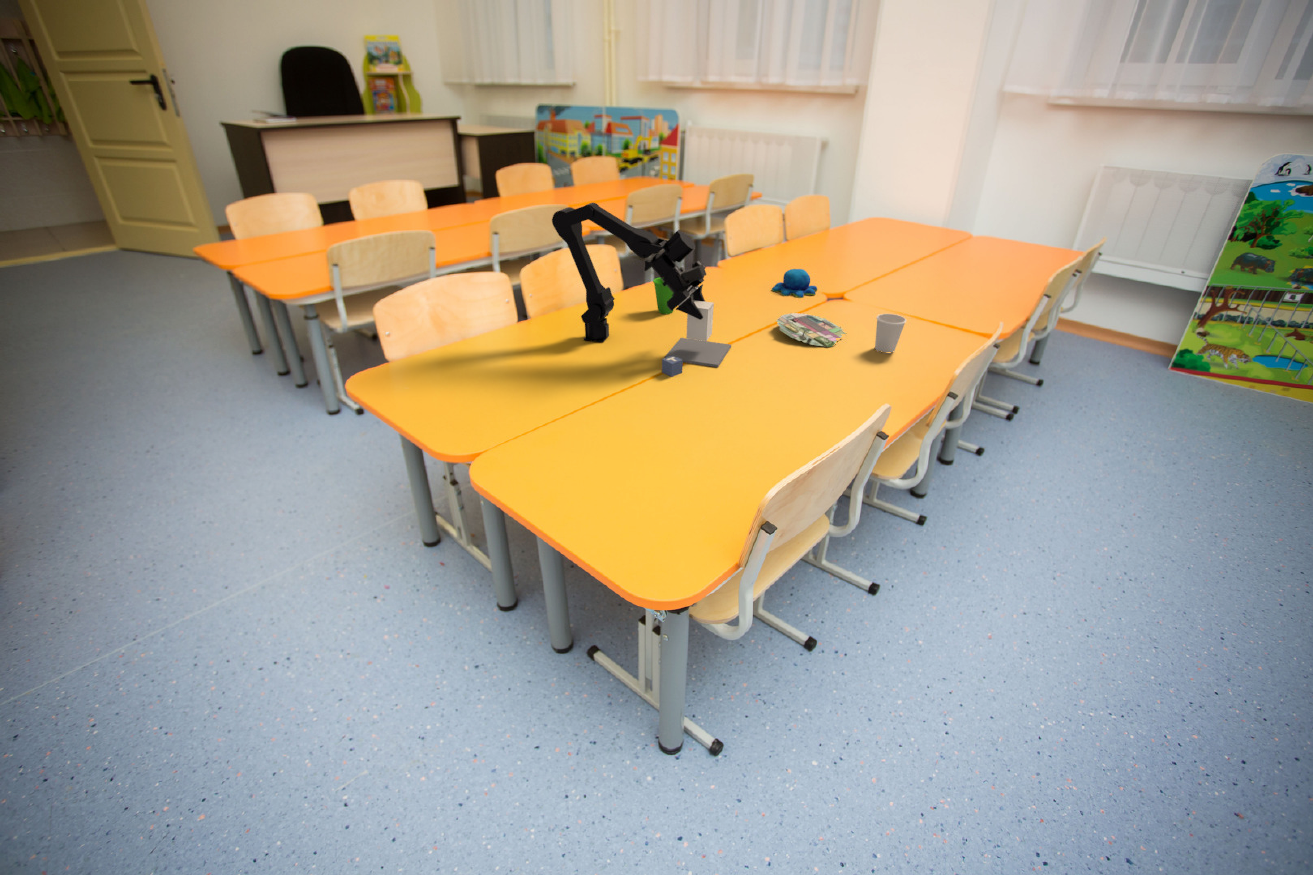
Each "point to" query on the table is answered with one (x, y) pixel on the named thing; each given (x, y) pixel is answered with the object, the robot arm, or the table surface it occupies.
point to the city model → (810, 329)
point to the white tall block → (701, 322)
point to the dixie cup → (888, 331)
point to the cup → (662, 296)
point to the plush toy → (795, 284)
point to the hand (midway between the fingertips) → (704, 315)
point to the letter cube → (672, 366)
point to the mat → (699, 352)
